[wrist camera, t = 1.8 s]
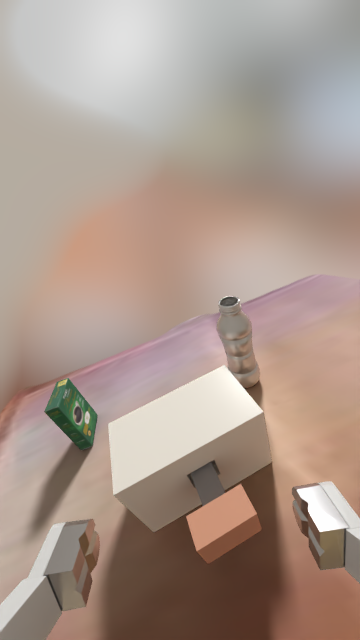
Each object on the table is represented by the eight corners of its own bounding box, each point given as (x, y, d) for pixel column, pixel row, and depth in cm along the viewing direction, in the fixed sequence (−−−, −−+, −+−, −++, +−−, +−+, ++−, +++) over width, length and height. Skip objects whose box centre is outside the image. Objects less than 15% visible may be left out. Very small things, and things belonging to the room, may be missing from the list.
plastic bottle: (242, 397, 46) (223, 317, 36) (224, 376, 52) (203, 302, 41) (268, 382, 47) (256, 300, 37) (248, 363, 53) (233, 288, 43)
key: (261, 529, 26) (256, 513, 23) (208, 564, 25) (196, 551, 22) (220, 450, 34) (213, 432, 32) (178, 473, 34) (168, 457, 31)
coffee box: (87, 418, 54) (55, 380, 47) (98, 413, 54) (68, 376, 47) (80, 451, 47) (42, 413, 40) (93, 446, 47) (57, 407, 40)
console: (272, 462, 35) (263, 411, 28) (153, 532, 32) (113, 495, 26) (237, 412, 44) (224, 364, 37) (140, 465, 41) (108, 423, 34)
